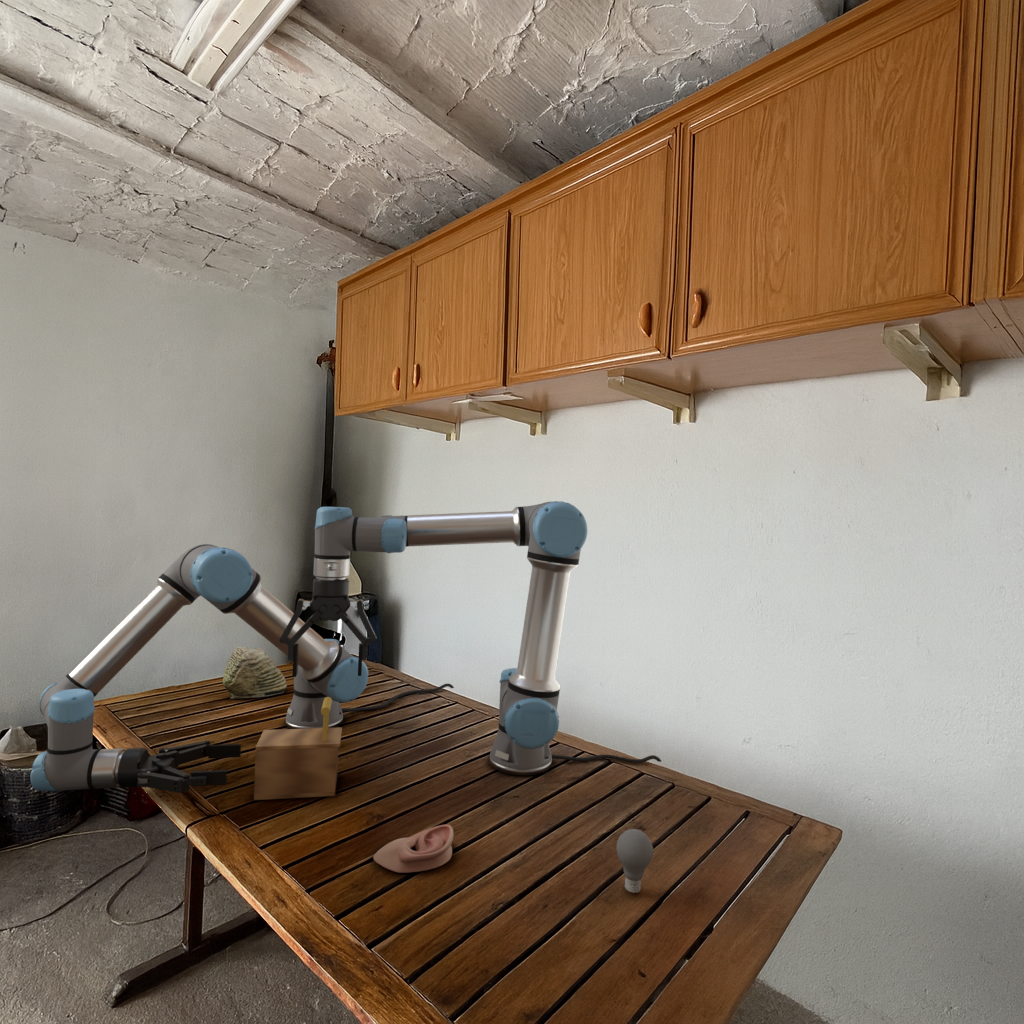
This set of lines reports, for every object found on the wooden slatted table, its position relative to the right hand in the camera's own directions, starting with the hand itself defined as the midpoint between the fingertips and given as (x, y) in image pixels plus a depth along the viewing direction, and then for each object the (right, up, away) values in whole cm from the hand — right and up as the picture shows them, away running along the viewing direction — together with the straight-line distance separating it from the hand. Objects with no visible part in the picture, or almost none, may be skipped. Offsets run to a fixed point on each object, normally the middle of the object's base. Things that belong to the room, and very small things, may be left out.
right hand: (327, 674), depth 138 cm
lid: (-6, -14, -1) cm, 15 cm away
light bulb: (+60, -28, -32) cm, 74 cm away
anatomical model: (+23, -26, -25) cm, 43 cm away
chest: (-6, -24, -1) cm, 25 cm away
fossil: (-40, -22, +60) cm, 75 cm away
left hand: (-19, -18, -4) cm, 26 cm away
